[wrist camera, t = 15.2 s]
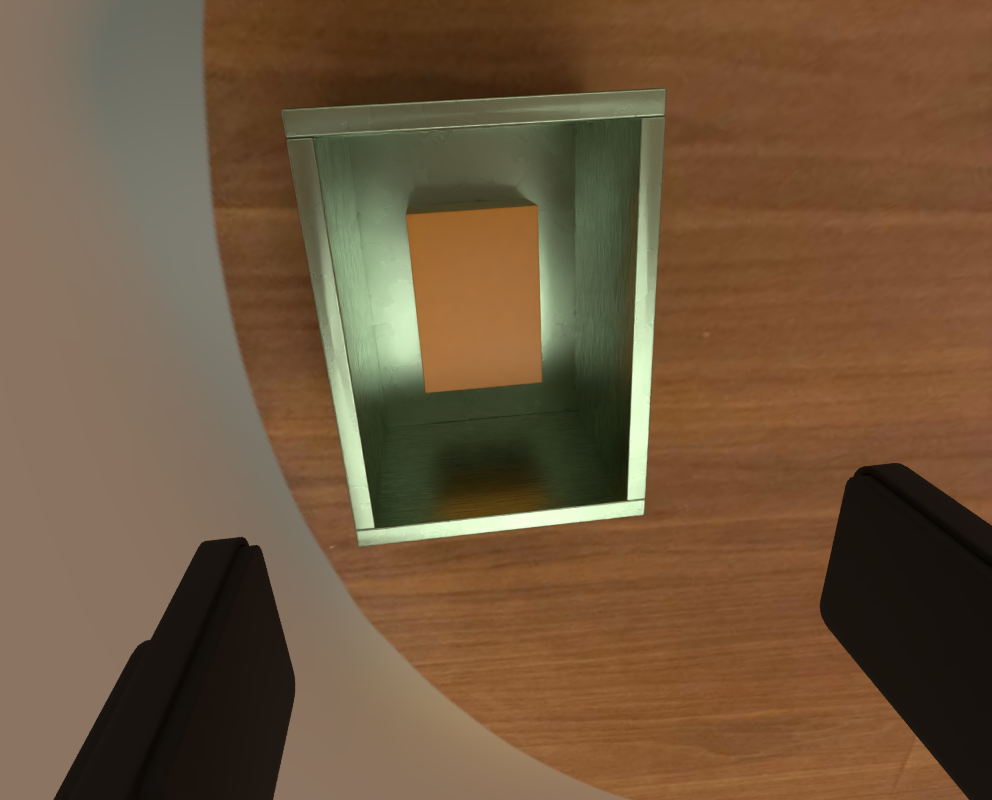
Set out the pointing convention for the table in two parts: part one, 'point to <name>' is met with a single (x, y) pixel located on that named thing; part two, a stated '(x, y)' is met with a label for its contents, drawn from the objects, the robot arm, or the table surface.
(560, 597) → the table surface
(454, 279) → the block
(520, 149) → the bin
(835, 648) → the table surface
